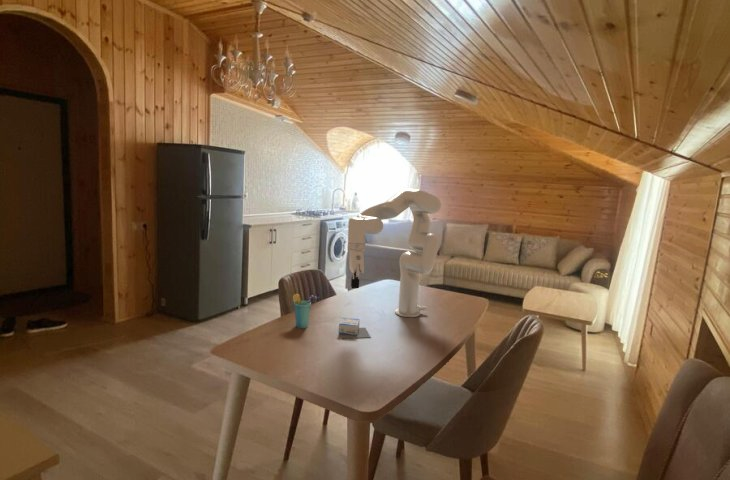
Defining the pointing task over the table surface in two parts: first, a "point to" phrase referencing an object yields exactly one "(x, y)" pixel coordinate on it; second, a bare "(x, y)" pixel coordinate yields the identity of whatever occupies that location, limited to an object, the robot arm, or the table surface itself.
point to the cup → (302, 310)
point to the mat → (361, 334)
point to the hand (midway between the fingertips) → (355, 287)
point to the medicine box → (349, 326)
